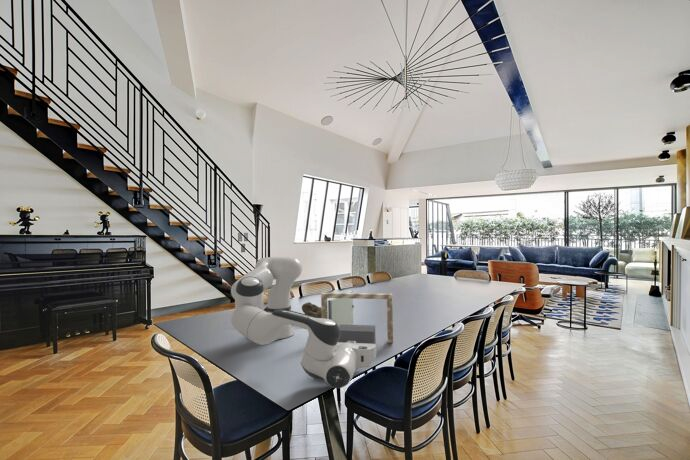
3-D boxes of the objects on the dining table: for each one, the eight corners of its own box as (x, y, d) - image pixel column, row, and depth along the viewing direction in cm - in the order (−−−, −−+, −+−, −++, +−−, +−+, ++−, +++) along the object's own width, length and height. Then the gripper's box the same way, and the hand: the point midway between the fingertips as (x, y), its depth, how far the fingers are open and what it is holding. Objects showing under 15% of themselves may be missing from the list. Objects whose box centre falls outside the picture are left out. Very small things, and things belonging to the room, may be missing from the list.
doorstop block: (336, 351, 132) (336, 330, 132) (340, 343, 141) (340, 324, 141) (374, 353, 129) (373, 331, 130) (375, 345, 139) (375, 325, 139)
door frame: (321, 340, 146) (321, 293, 146) (323, 338, 148) (322, 292, 149) (393, 343, 140) (392, 294, 141) (393, 341, 143) (392, 293, 143)
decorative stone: (326, 314, 170) (301, 304, 171) (319, 332, 171) (294, 322, 171) (329, 306, 186) (306, 296, 187) (323, 322, 187) (300, 313, 187)
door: (332, 339, 145) (331, 301, 146) (326, 338, 147) (326, 300, 147) (354, 323, 170) (353, 290, 170) (349, 322, 171) (349, 290, 172)
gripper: (318, 364, 110) (327, 349, 124) (375, 367, 107) (377, 351, 120) (317, 346, 110) (326, 333, 124) (374, 348, 107) (377, 335, 120)
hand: (352, 342), depth 122 cm, fingers closed
